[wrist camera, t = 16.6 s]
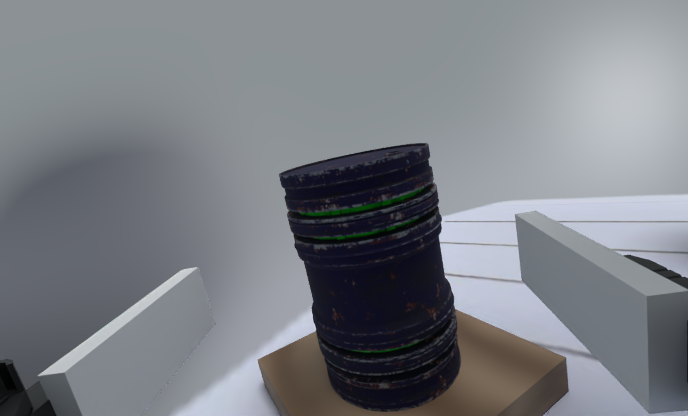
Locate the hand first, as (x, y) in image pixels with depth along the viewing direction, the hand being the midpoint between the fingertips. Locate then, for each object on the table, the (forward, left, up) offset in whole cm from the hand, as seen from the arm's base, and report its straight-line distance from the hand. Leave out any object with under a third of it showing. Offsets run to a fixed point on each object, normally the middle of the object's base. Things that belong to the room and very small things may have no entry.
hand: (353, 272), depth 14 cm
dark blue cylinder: (-6, -8, -11) cm, 15 cm away
